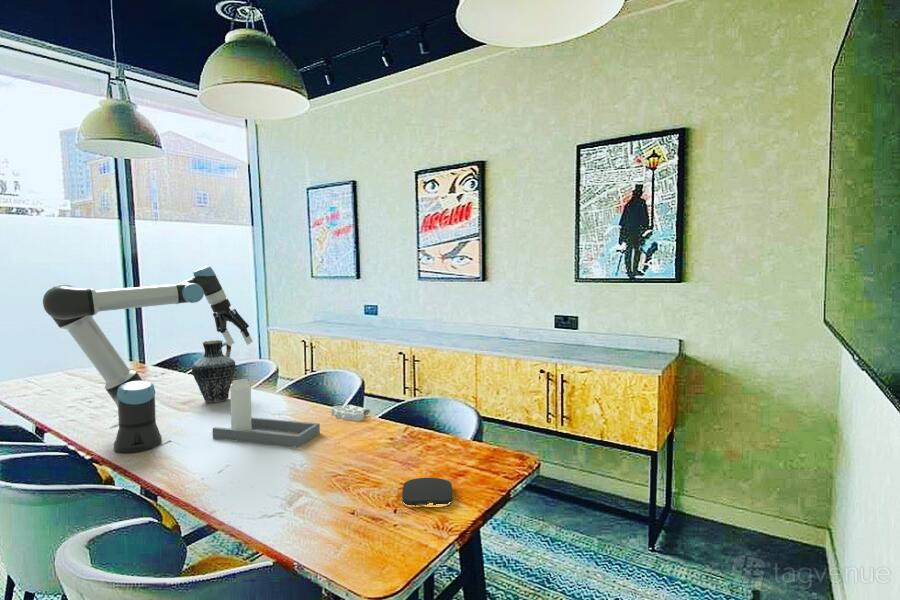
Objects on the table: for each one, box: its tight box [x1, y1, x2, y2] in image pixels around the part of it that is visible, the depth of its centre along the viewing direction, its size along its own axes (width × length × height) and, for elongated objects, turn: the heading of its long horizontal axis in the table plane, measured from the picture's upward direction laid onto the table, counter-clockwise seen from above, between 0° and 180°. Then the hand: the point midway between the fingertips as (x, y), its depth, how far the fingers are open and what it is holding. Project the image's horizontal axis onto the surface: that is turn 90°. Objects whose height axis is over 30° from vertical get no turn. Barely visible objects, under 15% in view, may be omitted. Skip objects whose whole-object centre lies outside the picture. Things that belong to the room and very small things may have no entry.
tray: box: [212, 416, 321, 448], centre depth 196 cm, size 16×38×4 cm, turn 76°
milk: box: [229, 378, 253, 431], centre depth 198 cm, size 6×6×22 cm
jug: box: [191, 339, 236, 403], centre depth 244 cm, size 21×19×30 cm
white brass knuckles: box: [330, 404, 371, 422], centre depth 223 cm, size 3×18×15 cm
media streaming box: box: [402, 477, 453, 506], centre depth 146 cm, size 15×15×3 cm
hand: (240, 343), depth 218 cm, fingers open, 13 cm apart
